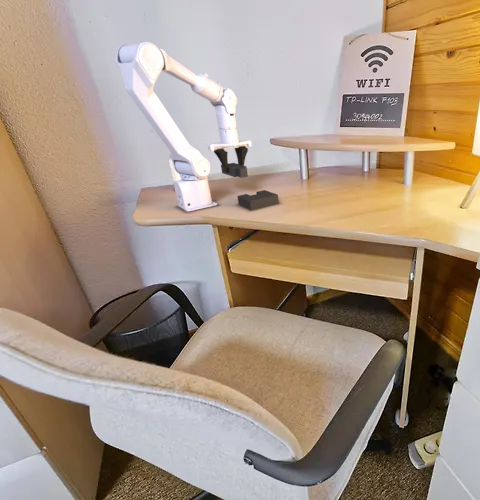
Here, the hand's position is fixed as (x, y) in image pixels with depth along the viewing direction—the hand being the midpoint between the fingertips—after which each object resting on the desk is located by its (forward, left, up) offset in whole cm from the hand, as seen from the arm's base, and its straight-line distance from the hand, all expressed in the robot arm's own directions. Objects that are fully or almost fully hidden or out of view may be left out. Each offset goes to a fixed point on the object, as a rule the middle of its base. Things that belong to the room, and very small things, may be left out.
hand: (234, 170), depth 110 cm
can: (-11, +20, -9) cm, 24 cm away
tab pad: (0, -1, -1) cm, 2 cm away
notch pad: (-1, -16, -8) cm, 18 cm away
